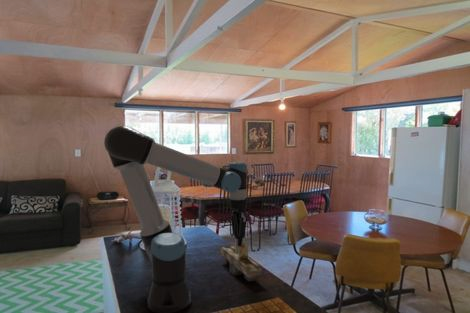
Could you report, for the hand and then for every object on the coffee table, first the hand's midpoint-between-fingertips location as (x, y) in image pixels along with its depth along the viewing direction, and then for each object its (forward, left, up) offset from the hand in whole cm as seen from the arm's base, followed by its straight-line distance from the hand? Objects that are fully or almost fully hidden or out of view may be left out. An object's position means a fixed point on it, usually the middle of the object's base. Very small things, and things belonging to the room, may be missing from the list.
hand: (238, 252), depth 140 cm
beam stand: (0, 0, -9) cm, 9 cm away
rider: (-2, -4, -2) cm, 5 cm away
